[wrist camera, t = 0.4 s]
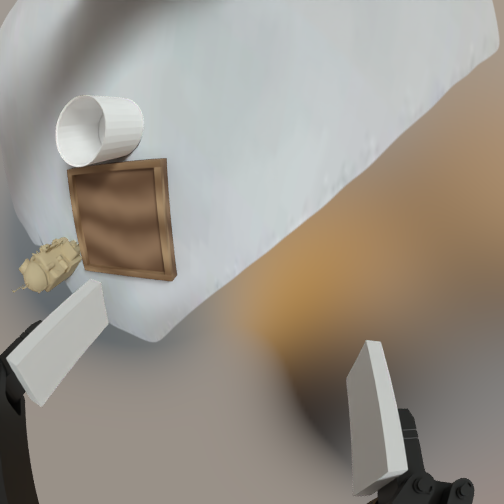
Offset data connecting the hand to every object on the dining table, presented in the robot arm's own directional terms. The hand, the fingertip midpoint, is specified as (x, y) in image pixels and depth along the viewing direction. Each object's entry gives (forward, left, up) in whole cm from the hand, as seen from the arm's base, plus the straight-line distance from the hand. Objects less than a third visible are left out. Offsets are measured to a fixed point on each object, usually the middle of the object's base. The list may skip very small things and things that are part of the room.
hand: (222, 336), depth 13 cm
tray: (+3, -24, -26) cm, 36 cm away
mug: (-12, -24, -27) cm, 37 cm away
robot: (+10, -39, -27) cm, 48 cm away
